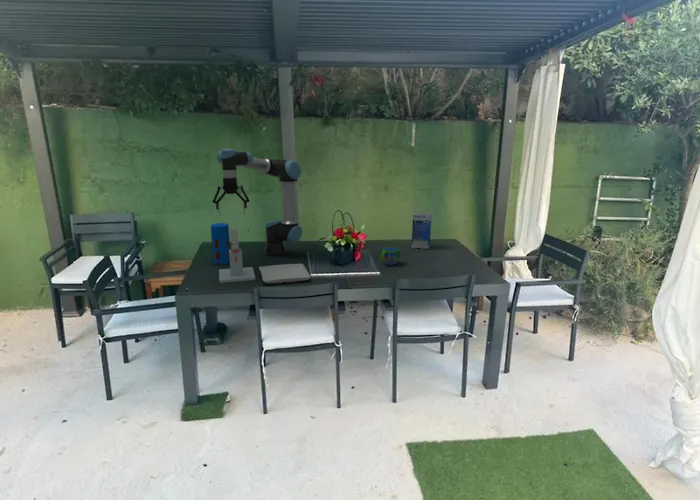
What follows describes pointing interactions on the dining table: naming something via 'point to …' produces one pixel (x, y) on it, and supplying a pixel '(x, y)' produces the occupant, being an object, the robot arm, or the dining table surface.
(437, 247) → the dining table surface
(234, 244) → the column
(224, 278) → the stand
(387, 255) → the snack cup
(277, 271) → the square plate
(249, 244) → the dining table surface
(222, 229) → the thermos
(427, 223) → the string lights box
